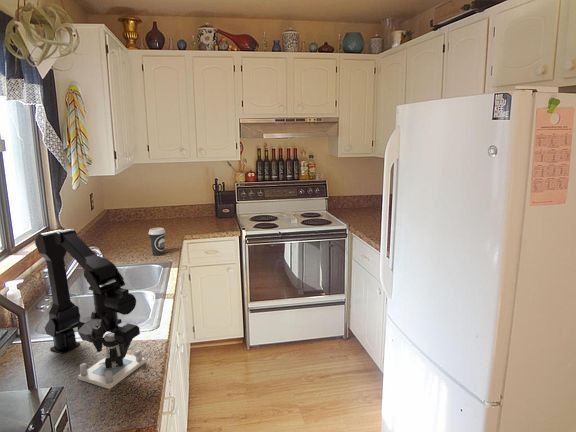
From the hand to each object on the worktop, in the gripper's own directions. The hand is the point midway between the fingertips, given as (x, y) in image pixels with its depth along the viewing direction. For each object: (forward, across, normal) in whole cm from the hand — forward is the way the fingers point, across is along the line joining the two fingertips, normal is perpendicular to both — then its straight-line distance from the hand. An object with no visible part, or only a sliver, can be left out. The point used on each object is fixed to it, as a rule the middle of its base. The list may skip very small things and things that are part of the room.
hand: (111, 354), depth 117 cm
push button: (+4, 0, 0) cm, 4 cm away
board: (+5, 0, 0) cm, 5 cm away
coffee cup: (+5, -65, +97) cm, 117 cm away
